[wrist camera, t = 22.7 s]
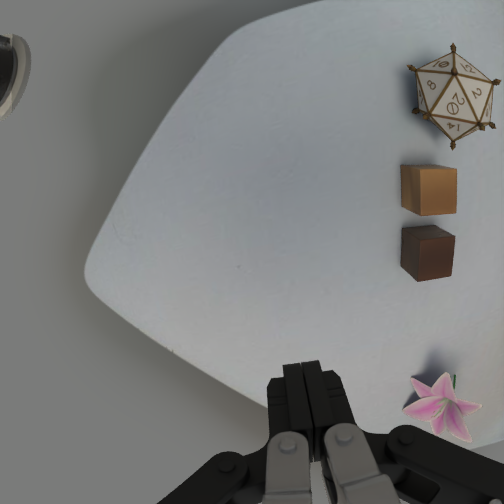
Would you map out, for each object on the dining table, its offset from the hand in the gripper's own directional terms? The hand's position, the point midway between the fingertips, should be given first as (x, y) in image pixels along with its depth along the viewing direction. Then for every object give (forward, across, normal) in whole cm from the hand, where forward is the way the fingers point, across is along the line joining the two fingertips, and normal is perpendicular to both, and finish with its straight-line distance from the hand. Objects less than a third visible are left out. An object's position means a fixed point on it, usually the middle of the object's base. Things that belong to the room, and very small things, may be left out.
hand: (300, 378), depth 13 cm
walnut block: (+18, -15, +2) cm, 23 cm away
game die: (+18, -17, -13) cm, 28 cm away
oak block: (+18, -15, -4) cm, 23 cm away
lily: (+18, -20, +22) cm, 34 cm away
